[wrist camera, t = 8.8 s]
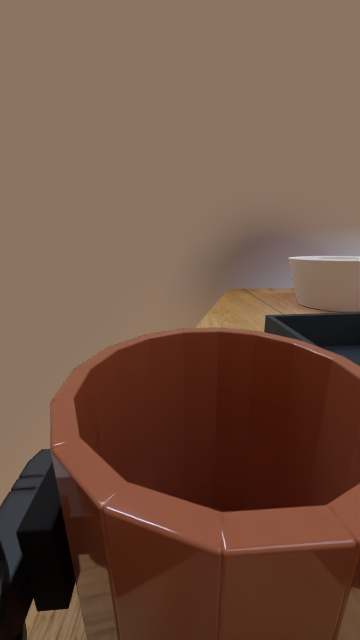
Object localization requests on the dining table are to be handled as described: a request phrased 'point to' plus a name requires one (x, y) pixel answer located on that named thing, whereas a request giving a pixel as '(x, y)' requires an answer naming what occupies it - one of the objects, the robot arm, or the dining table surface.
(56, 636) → the dining table surface
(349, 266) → the white tapered round pot
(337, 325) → the bin
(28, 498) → the robot arm
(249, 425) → the cup
